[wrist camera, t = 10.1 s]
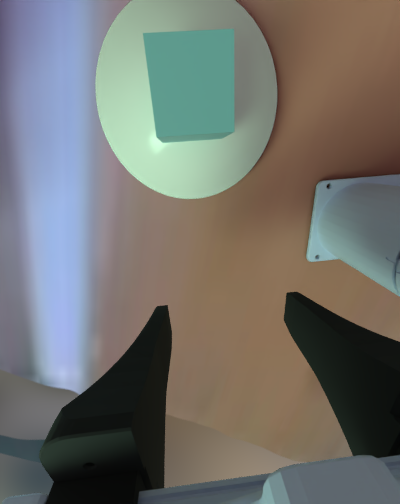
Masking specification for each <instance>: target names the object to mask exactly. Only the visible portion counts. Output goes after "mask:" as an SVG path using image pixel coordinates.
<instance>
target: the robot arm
mask: <svg viewBox="0 0 400 504" xmlns="http://www.w3.org/2000/svg"><path fill="white" fill-rule="evenodd" d="M327 184H329V187H328V188H326V186H327ZM316 255H318V256H317V257H316V258H315V256H316ZM306 258H307V260H309V261H310V262H314V261H324V260H334V259H341V260H342V261H344V262H345V263H347V264H348V265H350V266H352V267H353V268H355V269H356V270H358V271H360V272H361V273H363V274H364V275H366V276H368V277H369V278H371V279H372V280H374V281H375V282H377V283H379V284H380V285H382V286H383V287H385V288H387V289H388V290H390V291H391V292H393V293H395V294H396V295H398V296H399V297H400V174H395V175H383V176H371V177H359V178H347V179H335V180H323V181H320V182H318V184H317V186H316V192H315V199H314V206H313V213H312V220H311V227H310V234H309V242H308V249H307V256H306ZM284 321H285V323H286V326H287V328H288V330H289V332H290V334H291V336H292V338H293V339H294V341H295V343H296V344H297V346H298V347H299V349H300V351H301V352H302V354H303V355H304V357H305V358H306V360H307V362H308V363H309V365H310V366H311V368H312V369H313V371H314V373H315V375H316V376H317V378H318V380H319V382H320V384H321V386H322V388H323V390H324V392H325V394H326V396H327V398H328V400H329V402H330V404H331V406H332V409H333V411H334V413H335V415H336V417H337V419H338V422H339V424H340V426H341V428H342V431H343V433H344V435H345V437H346V440H347V442H348V444H349V447H350V449H351V452H352V454H353V456H351V457H343V458H336V459H329V460H322V461H315V462H307V463H300V464H294V465H290V466H286V467H283V468H280V469H278V470H276V471H275V472H273V473H269V474H261V475H255V476H247V477H240V478H233V479H226V480H219V481H211V482H205V483H198V484H190V485H183V486H176V487H169V488H164V454H165V412H166V391H167V382H168V374H169V366H170V358H171V349H172V330H171V324H170V318H169V311H168V305H165V306H157V307H156V308H155V310H154V312H153V314H152V316H151V317H150V319H149V321H148V322H147V324H146V325H145V327H144V328H143V330H142V331H141V333H140V334H139V336H138V337H137V338H136V340H135V341H134V342H133V344H132V345H131V346H130V348H129V349H128V350H127V351H126V352H125V354H124V355H123V356H122V357H121V358H120V359H119V360H118V361H117V362H116V363H115V364H114V365H113V366H112V367H111V368H110V369H109V370H108V371H107V372H106V373H105V374H104V375H103V376H102V377H101V378H100V379H99V380H98V381H96V382H95V383H94V384H93V385H92V386H91V387H89V388H88V389H87V390H86V391H84V392H83V393H82V394H81V395H79V396H78V397H77V398H75V399H74V400H73V401H71V402H70V403H69V404H67V405H66V406H64V407H63V408H62V409H61V411H60V413H59V415H58V416H57V418H56V419H55V421H54V423H53V425H52V427H51V429H50V431H49V433H48V435H47V438H46V440H45V442H44V444H43V446H42V448H41V450H40V454H39V458H40V461H41V463H42V465H43V466H44V468H45V470H46V471H47V472H48V474H49V475H50V477H51V478H52V479H53V481H54V483H53V486H52V488H51V491H50V493H49V496H48V495H47V494H44V493H33V494H26V495H19V496H12V497H7V498H6V499H4V500H3V502H2V504H400V342H398V341H395V340H393V339H390V338H387V337H385V336H382V335H379V334H377V333H375V332H372V331H370V330H367V329H365V328H363V327H361V326H358V325H356V324H354V323H352V322H350V321H348V320H346V319H344V318H342V317H340V316H338V315H337V314H335V313H333V312H331V311H329V310H327V309H326V308H324V307H322V306H321V305H319V304H317V303H315V302H314V301H312V300H310V299H309V298H307V297H305V296H304V295H302V294H300V293H298V292H290V293H287V295H286V304H285V314H284Z"/></svg>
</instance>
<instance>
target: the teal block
mask: <svg viewBox="0 0 400 504" xmlns="http://www.w3.org/2000/svg"><path fill="white" fill-rule="evenodd" d="M143 39H144V46H145V54H146V61H147V69H148V77H149V84H150V92H151V100H152V107H153V115H154V122H155V130H156V137H157V138H158V139H159V140H160V141H161V142H162V143H170V142H184V141H199V140H213V139H222V138H224V137H226V136H228V135H230V134H232V133H233V132H235V128H234V29H217V30H195V31H174V32H153V33H143Z"/></svg>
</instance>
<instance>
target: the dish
mask: <svg viewBox="0 0 400 504" xmlns="http://www.w3.org/2000/svg"><path fill="white" fill-rule="evenodd" d="M217 29H234V128H235V132H233V133H232V134H230V135H228V136H226V137H224V138H222V139H213V140H199V141H184V142H170V143H162V142H161V141H160V140H159V139H158V138H157V137H156V130H155V122H154V115H153V107H152V100H151V92H150V84H149V77H148V69H147V61H146V54H145V46H144V39H143V33H153V32H174V31H195V30H217ZM96 101H97V107H98V114H99V117H100V121H101V124H102V128H103V130H104V133H105V135H106V138H107V140H108V142H109V144H110V146H111V148H112V150H113V152H114V153H115V154H116V156H117V157H118V159H119V160H120V162H121V163H122V164H123V165H124V166H125V168H126V169H127V170H128V171H129V172H130V173H131V174H132V175H133V176H134V177H135V178H137V179H138V180H139V181H140V182H142V183H143V184H145V185H146V186H148V187H149V188H151V189H153V190H155V191H157V192H160V193H162V194H165V195H168V196H172V197H176V198H184V199H197V198H204V197H208V196H212V195H215V194H218V193H220V192H222V191H224V190H226V189H228V188H230V187H231V186H233V185H235V184H236V183H237V182H238V181H240V180H241V179H242V178H243V177H244V176H245V175H246V174H247V173H248V172H249V171H250V170H251V169H252V168H253V166H254V165H255V164H256V162H257V161H258V159H259V158H260V156H261V155H262V153H263V151H264V149H265V147H266V145H267V143H268V141H269V138H270V135H271V132H272V129H273V125H274V120H275V116H276V108H277V81H276V72H275V68H274V63H273V59H272V56H271V53H270V50H269V47H268V44H267V42H266V40H265V38H264V36H263V34H262V32H261V30H260V29H259V27H258V26H257V24H256V22H255V21H254V19H253V18H252V17H251V16H250V15H249V14H248V12H247V11H246V10H245V9H244V8H243V7H242V6H241V5H240V4H239V3H238V2H236V1H235V0H132V1H131V2H129V3H128V4H127V5H126V7H125V8H124V9H123V10H122V11H121V12H120V13H119V14H118V16H117V17H116V19H115V20H114V22H113V23H112V25H111V26H110V28H109V31H108V33H107V35H106V37H105V39H104V42H103V45H102V48H101V51H100V54H99V59H98V64H97V70H96Z"/></svg>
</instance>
